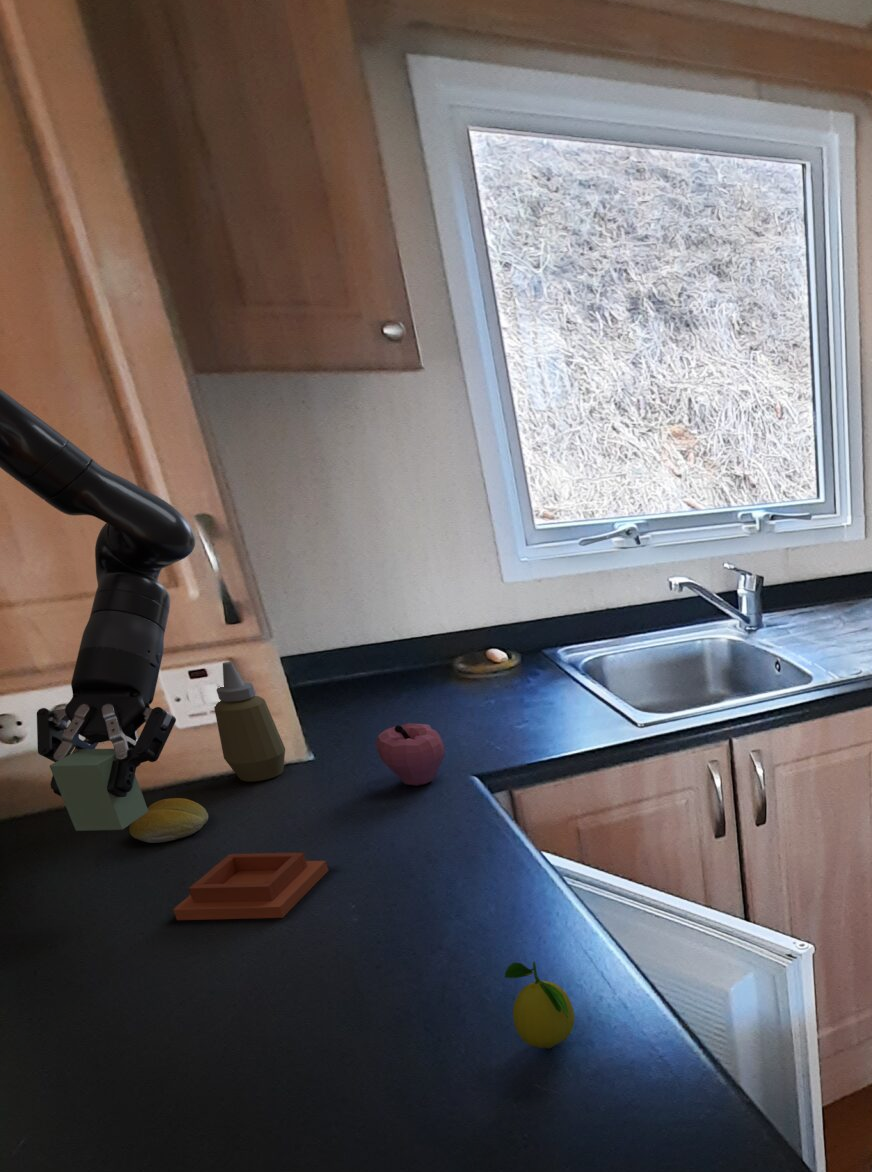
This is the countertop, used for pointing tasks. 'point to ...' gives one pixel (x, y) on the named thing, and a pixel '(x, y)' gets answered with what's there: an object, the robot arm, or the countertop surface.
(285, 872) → the base pad
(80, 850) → the countertop surface
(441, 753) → the apple
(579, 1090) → the countertop surface
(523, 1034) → the lemon
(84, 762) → the sage pad block
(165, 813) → the bread roll
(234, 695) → the squeeze bottle
